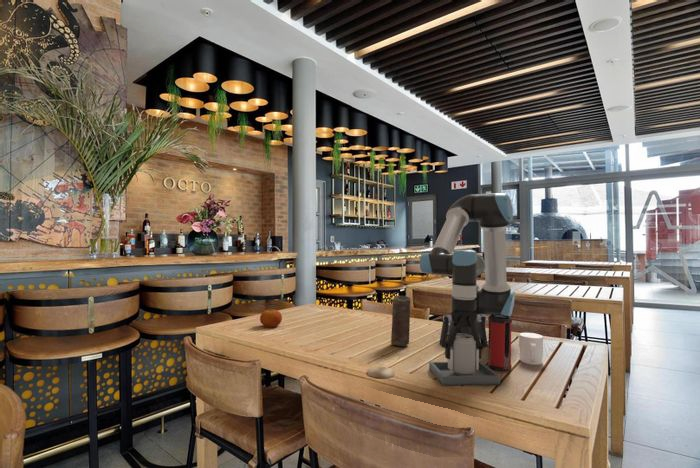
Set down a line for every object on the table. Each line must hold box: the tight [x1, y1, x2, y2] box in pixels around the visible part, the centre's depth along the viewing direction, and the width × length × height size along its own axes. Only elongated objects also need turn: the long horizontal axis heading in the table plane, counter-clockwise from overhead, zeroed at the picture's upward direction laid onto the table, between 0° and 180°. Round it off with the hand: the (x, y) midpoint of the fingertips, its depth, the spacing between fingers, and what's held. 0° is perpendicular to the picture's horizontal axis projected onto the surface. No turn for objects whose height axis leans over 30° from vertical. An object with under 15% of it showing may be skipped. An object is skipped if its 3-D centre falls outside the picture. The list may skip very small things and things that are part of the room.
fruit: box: [259, 309, 283, 328], centre depth 184 cm, size 11×10×8 cm
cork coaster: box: [366, 366, 396, 379], centre depth 123 cm, size 9×9×1 cm
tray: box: [428, 360, 501, 387], centre depth 121 cm, size 18×14×3 cm
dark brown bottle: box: [390, 295, 412, 347], centre depth 155 cm, size 8×7×20 cm
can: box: [451, 333, 476, 376], centre depth 121 cm, size 8×8×12 cm
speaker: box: [486, 314, 513, 372], centre depth 130 cm, size 8×8×18 cm
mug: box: [518, 332, 544, 366], centre depth 138 cm, size 12×9×8 cm
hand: (463, 368), depth 121 cm, fingers open, 8 cm apart
